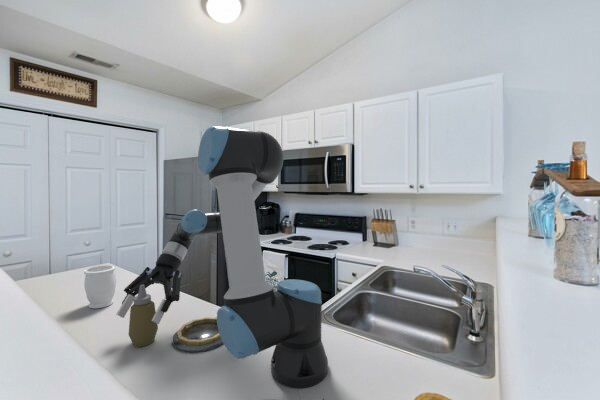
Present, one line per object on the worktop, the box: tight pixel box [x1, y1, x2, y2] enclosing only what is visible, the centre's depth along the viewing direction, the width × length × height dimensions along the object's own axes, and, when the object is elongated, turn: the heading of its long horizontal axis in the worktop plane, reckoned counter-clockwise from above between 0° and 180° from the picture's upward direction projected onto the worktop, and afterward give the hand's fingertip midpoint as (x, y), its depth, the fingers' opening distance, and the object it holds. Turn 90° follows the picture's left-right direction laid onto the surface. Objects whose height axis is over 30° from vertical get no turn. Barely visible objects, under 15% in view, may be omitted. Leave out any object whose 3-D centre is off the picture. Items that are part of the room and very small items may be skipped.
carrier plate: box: [172, 317, 224, 354], centre depth 91 cm, size 18×18×2 cm
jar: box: [83, 264, 117, 310], centre depth 115 cm, size 11×10×15 cm
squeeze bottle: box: [128, 285, 159, 347], centre depth 88 cm, size 8×8×18 cm
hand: (137, 319), depth 86 cm, fingers open, 13 cm apart
